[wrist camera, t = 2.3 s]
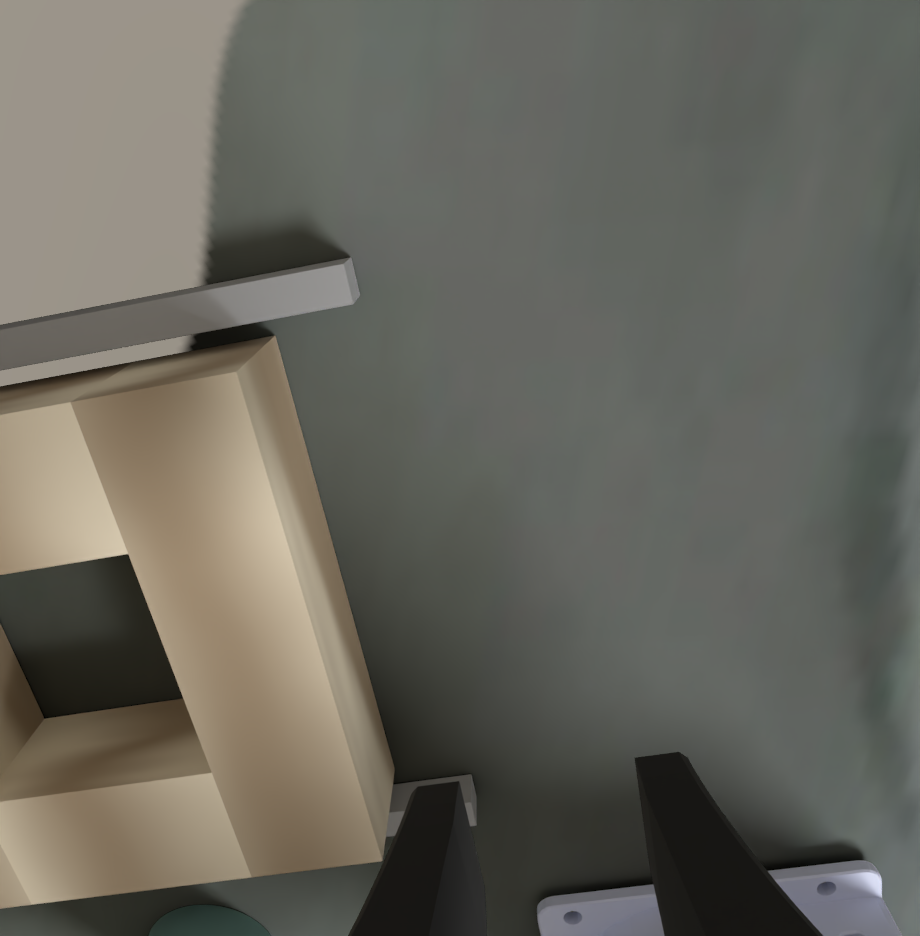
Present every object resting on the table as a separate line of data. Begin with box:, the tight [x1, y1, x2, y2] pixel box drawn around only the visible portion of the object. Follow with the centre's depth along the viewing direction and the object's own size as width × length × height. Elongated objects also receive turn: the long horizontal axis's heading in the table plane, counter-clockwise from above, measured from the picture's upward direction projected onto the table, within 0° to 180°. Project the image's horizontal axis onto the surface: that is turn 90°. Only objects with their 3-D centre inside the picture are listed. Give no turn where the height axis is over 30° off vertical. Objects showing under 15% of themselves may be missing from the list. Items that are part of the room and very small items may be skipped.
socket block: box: [0, 336, 395, 909], centre depth 19 cm, size 12×12×3 cm
